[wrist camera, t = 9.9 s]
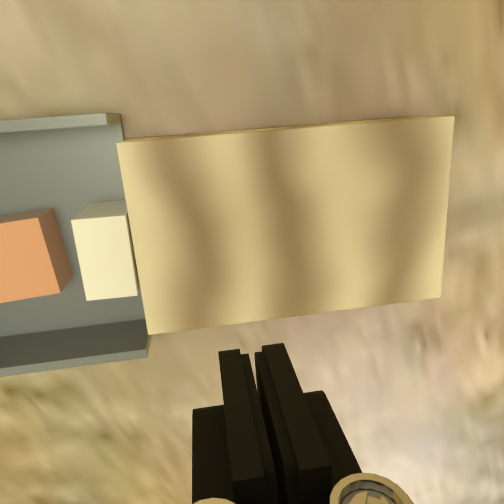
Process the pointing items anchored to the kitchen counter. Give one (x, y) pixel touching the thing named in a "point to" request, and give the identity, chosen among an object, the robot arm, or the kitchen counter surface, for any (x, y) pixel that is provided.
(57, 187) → the tray
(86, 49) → the kitchen counter surface
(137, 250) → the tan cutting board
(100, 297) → the cream square block
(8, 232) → the orange square block
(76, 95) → the kitchen counter surface
